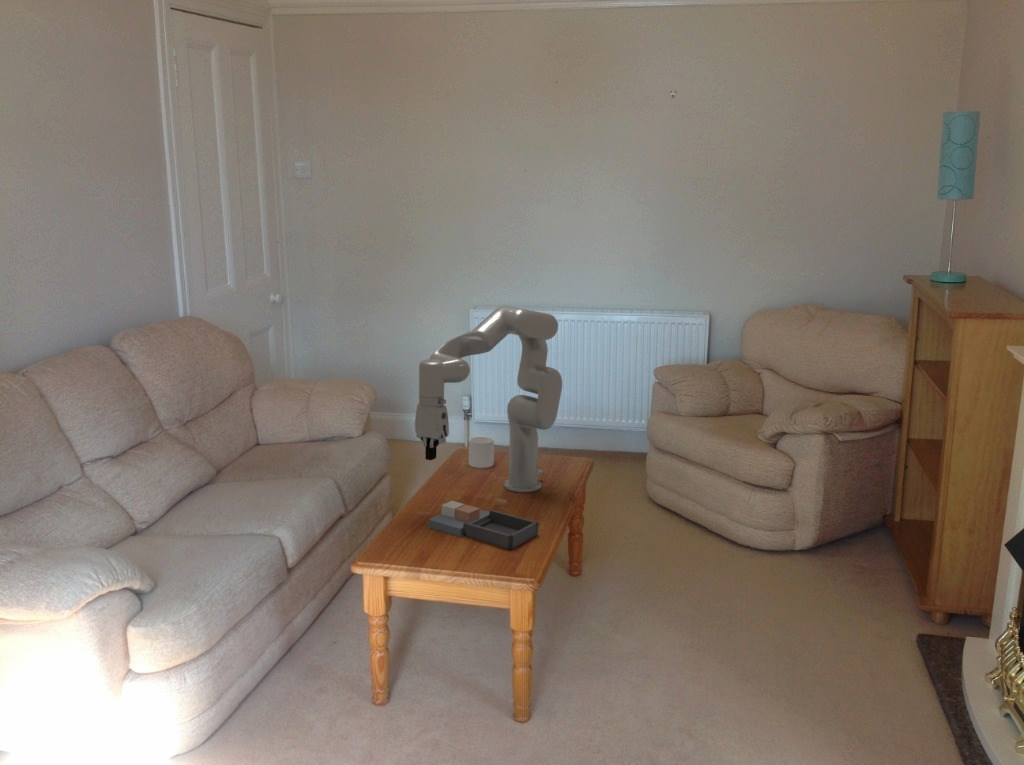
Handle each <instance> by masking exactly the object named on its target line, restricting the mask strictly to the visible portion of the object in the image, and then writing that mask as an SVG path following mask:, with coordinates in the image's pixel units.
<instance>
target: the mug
mask: <svg viewBox="0 0 1024 765" xmlns="http://www.w3.org/2000/svg"><path fill="white" fill-rule="evenodd" d="M494 457H495V439H494V438H493V437H491V436H486V435H485V436H484V435H483V436H481V435H480V436H471V437H469V439H468V465H469V466H470V467H471V468H474V469H475V468H476V469H488V468H492V467H493V466H494V464H495V460H494V459H495V458H494Z"/></svg>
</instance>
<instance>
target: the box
mask: <svg viewBox="0 0 1024 765" xmlns="http://www.w3.org/2000/svg"><path fill="white" fill-rule="evenodd" d="M488 512H489V519H488V520H486V521H484V522H481V523H479V524H477V525H474V524H470V523H467V522H465V523H463V536H462V537H465V538H469V539H472V540H476V541H478V542H482V543H486V544H489V545H493V546H495V547H499V548H502V549H505V550H510V551H512V550H513V549H516V548H518V547H519V546H521V545H523V544H524V543H526V542H528V541H530V540H532V539H533V538H536V537H537V536H539V521H536V520H531V519H527V518H524V517H520V516H517V515H512V514H509V513H505V512H502V511H498V510H494V509H489V511H488Z"/></svg>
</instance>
